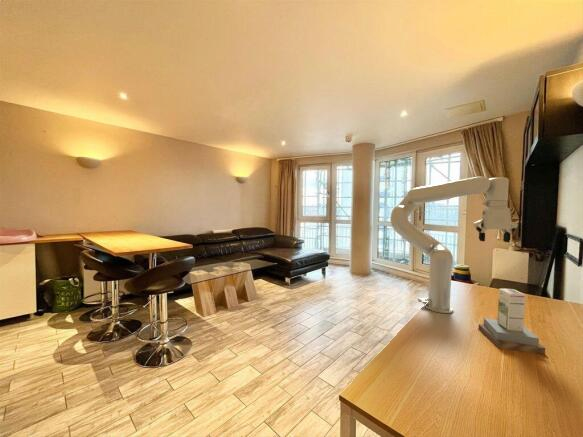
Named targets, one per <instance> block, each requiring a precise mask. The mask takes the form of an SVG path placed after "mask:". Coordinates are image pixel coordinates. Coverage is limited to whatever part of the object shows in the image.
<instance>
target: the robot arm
mask: <svg viewBox="0 0 583 437" xmlns="http://www.w3.org/2000/svg"><path fill="white" fill-rule="evenodd" d="M509 181H510V180H509V179H508V177H500V176H499V177H491V178H487V177H485V176H476V177H475V176H474V177H469V178H464V179H459V180H453V181H448V182H441V183H440V182H439V183H436V184H430V185H424V186H419V187H414V188H411V189H410V190H408V191H407V193H406V195H405V196H404V198H403V199H402V200H401V201H400V202H399V203H398V205H396V206H394V207H393V209H392V211H391V214H390V223H391V227H392V229H393V230H394V231H395V232H396V233H397V234H398V235H399V236H400V237H401V238H403V240H405V241H407V242H408V243H409V244H410V245H411V246H413V248H415V249H416V250H418V251H419V252H423V254H425V255H426V256H427V257H429V270H428V271H429V273H428V277H429V278H428V296H425V297H424V298H422V297H418V298H417V301H418V303H422V304H424V307H425V306H426V307H425V308H426V309H428V310H430V311H432V312H436V313H438V314H439V313H440V314H452V313H453V312H454V307H453V306H451V290H452V289H451V287H452V274H453V273H452V271H453V264H454V258H453V253H452V251H451V250H450V249H449V248H448V247H446V246H445V245H444V244H442V243H441V242H440V241H438V240H437V239H436V238H435V237H433V236H432V235H431V234H430V233H427V232H425V231H423V230H421V229H420V228H418V227H416V225H414V224H413V223H411V222H410V220H409V216H410V215H412V213H414V212H415V210H416V209H417V208H418V207H419V206H420V204H421V205H422V204H425V203H433V202H438V201H446V200H450V199H453V198H458V197H463V196H464V197H465V196H470V195H472V196H473V195H479V194H486V196H485V201H483V202H482V206H485V207H483V210H482V213H481V219H479V220H476V221H474V222H473V223H472V225H473V226H474V228H475V230H476V231H477V232H478V239H479V241H481V242H485V241H486V231H487V230H503V231H504V233H503V238H502V240H503V242H505V243H510V241H511V235H512V234H513V233H514V232H515V231H516V229H517V228H518V226H519V224H518V223H516V222H514V221H512V213H511V209H510V207H508V200H509V198H508V197H509V185H510V184H509V183H510V182H509ZM427 302H428V303H427ZM426 303H427V304H426ZM425 304H426V305H425Z"/></svg>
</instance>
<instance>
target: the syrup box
mask: <svg viewBox="0 0 583 437" xmlns="http://www.w3.org/2000/svg"><path fill="white" fill-rule="evenodd" d="M526 297H527V296H526V294H525V293H523V292H520V291H518V290H516V289H515V288H514V289H513V288H499V290H498V307H497V319H496V320H497V323H498V324H500V325H501V326H503V327H504V328H505V329H507V330H511V331H523V329H524V327H525V313H526V312H525V310H526V299H527V298H526Z"/></svg>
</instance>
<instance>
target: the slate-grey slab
mask: <svg viewBox="0 0 583 437" xmlns="http://www.w3.org/2000/svg"><path fill="white" fill-rule="evenodd" d="M483 325H484V326H485V327H486V328H487V329H488V330H489V331H490V332H491V334H492V335H493V336H494V337H495V338H496V339H497V340H501V341H508V342H514V343H520V344H526V345H532V346H538V344H540V343H539V342H540V341H539V340H540V338H539V337H538V336H537V335H535V334H534V333H533V332H532V331H530V330H529V329H528V328H527V327H526V326H524V329H523V331H511V330H507V329H505V328H504V327H503V326H501V325H500V324H498V323H497V319H494V318H487V317H484V318H483Z"/></svg>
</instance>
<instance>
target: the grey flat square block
mask: <svg viewBox="0 0 583 437" xmlns="http://www.w3.org/2000/svg"><path fill="white" fill-rule="evenodd" d="M477 329H478V330H479V331H480V332H481V333H482V334H483V335H484V336H485V337H486V338H487V339H489V341H491V343H492V344H493V345H495V346H496V347H497V348H498V349H502V350H510V351H517V352H525V353H532V354H540V355H545V354H546V347H545V346H543V345H542V344H541V343H539V344H538V346H532V345H526V344H520V343H514V342H508V341H501V340H497V339H496V338H495V337H494V336H493V335H492V334H491V332H490V331H489V330H488V329H487V328H486V327H485V326H484V323H478V328H477Z"/></svg>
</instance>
